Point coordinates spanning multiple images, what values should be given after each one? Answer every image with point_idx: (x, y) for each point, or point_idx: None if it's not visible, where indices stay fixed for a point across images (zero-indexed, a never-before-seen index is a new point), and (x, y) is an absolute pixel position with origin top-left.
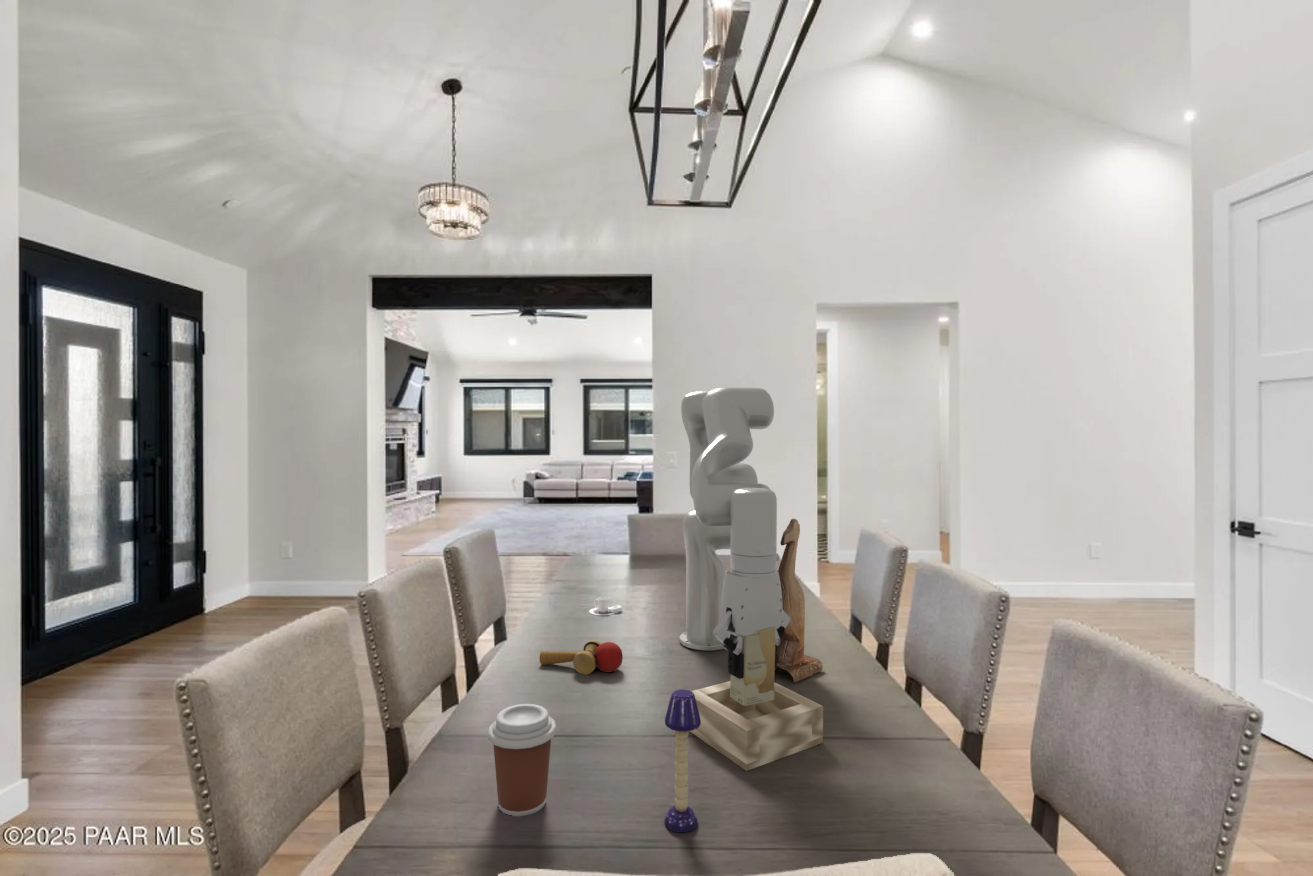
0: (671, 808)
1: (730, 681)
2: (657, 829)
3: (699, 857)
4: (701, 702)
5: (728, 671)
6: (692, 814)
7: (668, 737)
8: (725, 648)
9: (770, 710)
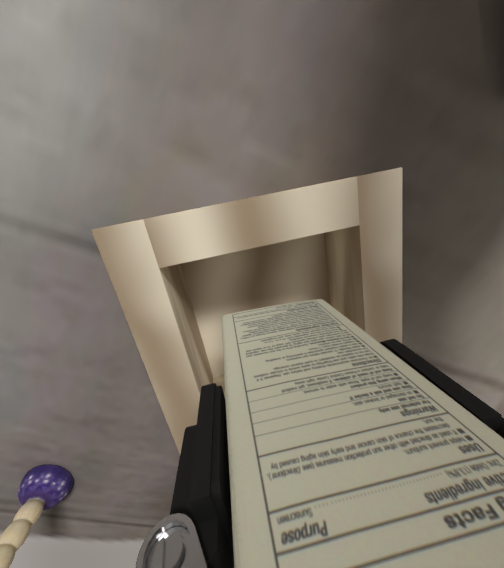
0: (21, 496)
1: (222, 339)
2: (12, 485)
3: (60, 528)
4: (126, 313)
5: (201, 388)
6: (55, 504)
7: (84, 252)
8: (146, 548)
9: (334, 275)
